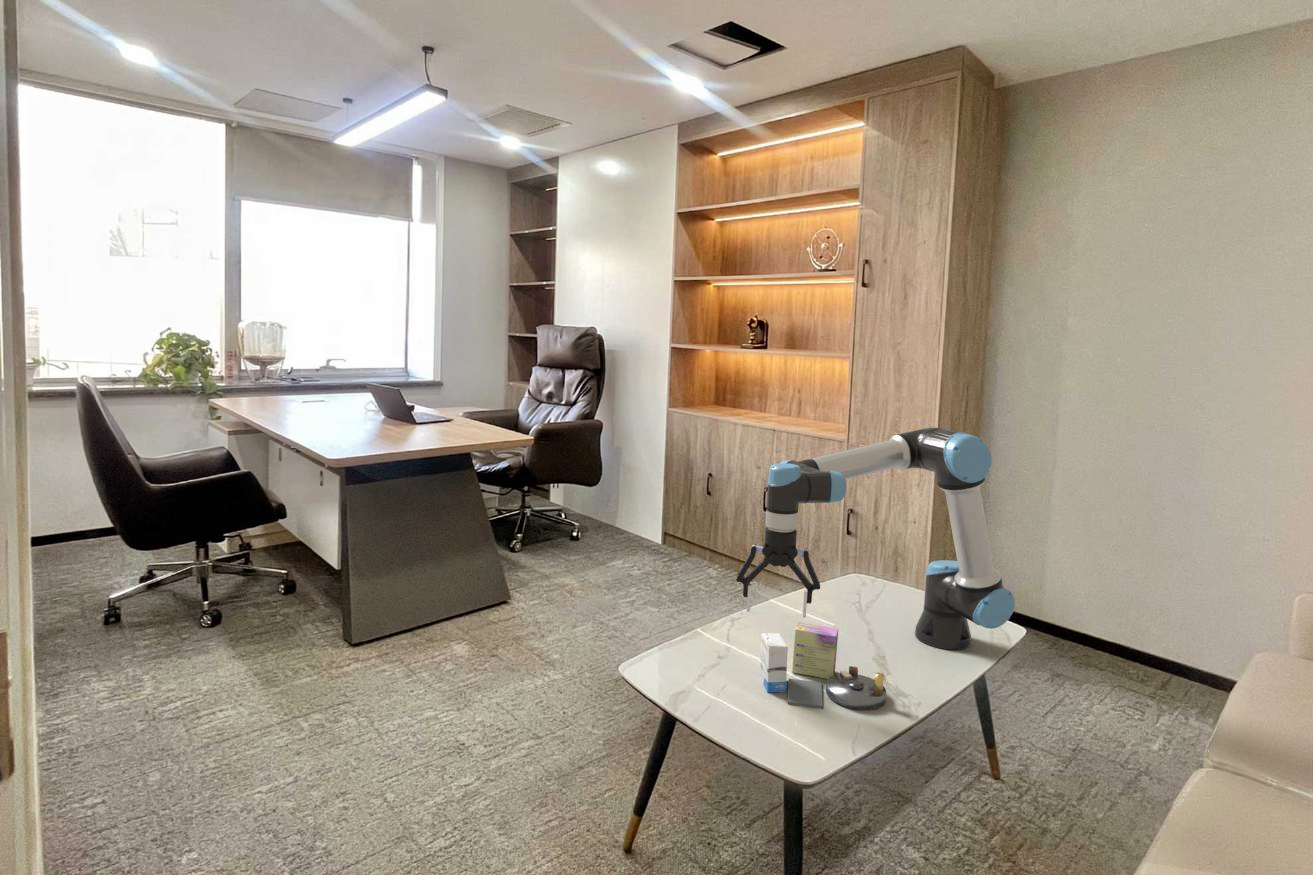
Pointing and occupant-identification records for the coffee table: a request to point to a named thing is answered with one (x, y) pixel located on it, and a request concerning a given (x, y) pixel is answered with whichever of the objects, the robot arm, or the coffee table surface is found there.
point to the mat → (805, 693)
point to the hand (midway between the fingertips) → (776, 612)
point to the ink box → (773, 662)
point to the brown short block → (853, 670)
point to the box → (815, 650)
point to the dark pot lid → (856, 690)
